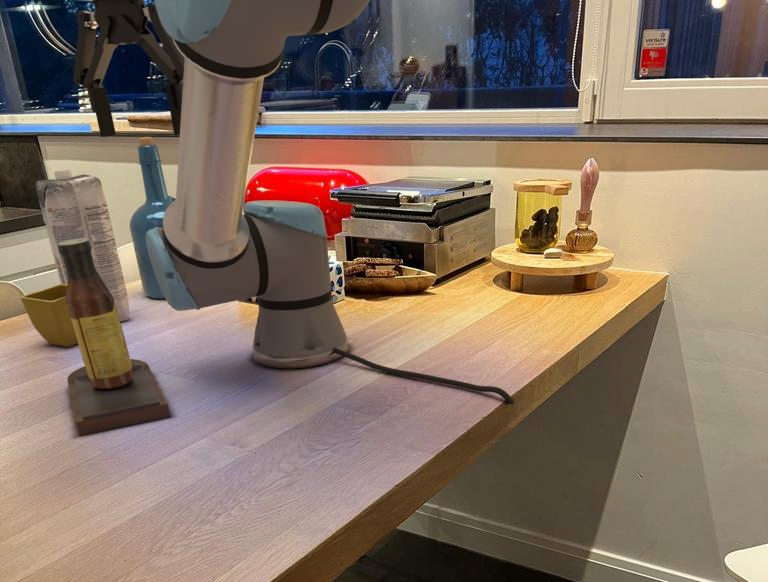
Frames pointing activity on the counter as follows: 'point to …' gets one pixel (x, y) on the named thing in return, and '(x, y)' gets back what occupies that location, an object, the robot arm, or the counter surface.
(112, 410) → the board
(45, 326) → the flower pot
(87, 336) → the sauce bottle
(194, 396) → the counter surface
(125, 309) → the juice carton
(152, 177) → the wine bottle
